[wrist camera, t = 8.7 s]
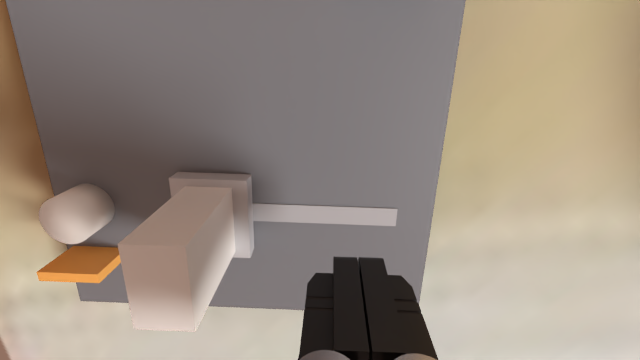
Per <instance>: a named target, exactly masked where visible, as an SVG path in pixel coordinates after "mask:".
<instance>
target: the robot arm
mask: <svg viewBox="0 0 640 360" xmlns="http://www.w3.org/2000/svg"><path fill="white" fill-rule="evenodd" d="M298 360H438V358H437V355H436V352H435V349H434V346H433V344H432V341H431V338H430V335H429V332H428V330H427V327H426V324H425V321H424V318H423V316H422V314H421V310H420V307H419V304H418V303H417V299H416V296H415V293H414V290H413V288H412V286H411V285H410V284H409V283H408V282H407V281H406V280H405V279H404V278H403V277H402V276H401V275H388V274H387V270H386V266H385V263H384V259H383V258H371V257H359V258H358V259H357V257H335V256H334V257H333V273H315V274H314V276H313V277H312V278H311V279H310V281H309V282H308V283H307V292H306V301H305V310H304V319H303V328H302V336H301V345H300V354H299V358H298Z"/></svg>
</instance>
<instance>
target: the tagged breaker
mask: <svg viewBox="0 0 640 360" xmlns="http://www.w3.org/2000/svg"><path fill="white" fill-rule="evenodd" d="M169 184H170V192H171V199H170V200H168V201H167V202H166V203H165V204H164V205H163V206H161V207H160V208H159V209H158V210H157V211H156V212H154V213H153V214H152V215H151V216H150V217H149V218H147V219H146V220H145V221H144V222H143V223H142V224H140V225H139V226H138V227H137V228H136V229H135V230H133V231H132V232H131V233H130V234H129V235H128V236H126V237H125V238H124V239H123V240H122V241H121V242H119V243H118V250H119V255H120V260H121V265H122V270H123V276H124V281H125V286H126V291H127V296H128V302H129V307H130V312H131V317H132V322H133V327H134V329H141V330H165V331H189V332H196V330H197V328H198V326H199V324H200V322H201V320H202V318H203V316H204V314H205V312H206V310H207V308H208V306H209V304H210V302H211V300H212V298H213V296H214V294H215V292H216V290H217V288H218V285H219V283H220V281H221V279H222V277H223V275H224V273H225V271H226V269H227V267H228V265H229V263H230V261H231V259H232V257H235V258H250V257H251V255H252V253H253V250H254V229H253V204H252V179H251V174H225V173H197V172H177V173H175V174H174V175H173V176H171V177H170V178H169Z"/></svg>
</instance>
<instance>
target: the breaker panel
mask: <svg viewBox="0 0 640 360" xmlns="http://www.w3.org/2000/svg"><path fill="white" fill-rule="evenodd" d="M465 1H466V0H6V4H7V8H8V12H9V16H10V20H11V24H12V28H13V32H14V36H15V40H16V44H17V48H18V52H19V56H20V60H21V64H22V68H23V72H24V76H25V80H26V84H27V88H28V92H29V96H30V100H31V104H32V108H33V112H34V116H35V120H36V124H37V128H38V132H39V136H40V140H41V144H42V148H43V152H44V156H45V160H46V164H47V168H48V172H49V176H50V180H51V184H52V188H53V192H54V197H52V198H50V199H48V200H46V201H45V202H44V203H43V204H42V205H41V207H40V210H39V220H40V223H41V225H42V227H43V229H44V230H45V231H46V233H47V234H48V235H50V236H51V237H52V238H54V239H55V240H57V241H59V242H62V243H65V244H67V248H68V250H67V251H65V252H64V253H63V254H61V255H60V256H58V257H57V258H56V259H54V260H53V261H51V262H50V263H49V264H47V265H46V266H45V267H43V268H42V269H40V270H39V271H38V272H37V275H38V278H39V281H58V282H76V284H77V288H78V292H79V296H80V300H81V301H96V302H120V303H129V302H128V296H127V291H126V286H125V281H124V276H123V270H122V265H121V260H120V255H119V250H118V243H119V242H121V241H122V240H123V239H124V238H125V237H126V236H128V235H129V234H130V233H131V232H132V231H133V230H135V229H136V228H137V227H138V226H139V225H140V224H142V223H143V222H144V221H145V220H146V219H147V218H149V217H150V216H151V215H152V214H153V213H154V212H156V211H157V210H158V209H159V208H160V207H161V206H163V205H164V204H165V203H166V202H167V201H168V200H170V199H171V192H170V184H169V178H170V177H171V176H173V175H174V174H175V173H177V172H197V173H225V174H251V179H252V204H253V229H254V250H253V253H252V255H251V257H250V258H235V257H232V259H231V261H230V263H229V265H228V267H227V269H226V271H225V273H224V275H223V277H222V279H221V281H220V283H219V285H218V288H217V290H216V292H215V294H214V296H213V298H212V300H211V302H210V304H209V306H218V307H242V308H266V309H291V310H305V301H306V292H307V283H308V282H309V281H310V279H311V278H312V277H313V276H314V274H315V273H333V257H334V256H335V257H357V259H358V258H359V257H371V258H383V259H384V263H385V266H386V270H387V274H388V275H401V276H402V277H403V278H404V279H405V280H406V281H407V282H408V283H409V284H410V285H411V286H412V288H413V290H414V293H415V296H416V299H417V303H418V304H419V300H420V294H421V287H422V281H423V274H424V268H425V261H426V255H427V248H428V242H429V235H430V229H431V222H432V216H433V209H434V202H435V196H436V189H437V183H438V176H439V170H440V163H441V157H442V150H443V144H444V137H445V131H446V124H447V118H448V111H449V105H450V98H451V92H452V85H453V79H454V72H455V66H456V59H457V53H458V46H459V40H460V33H461V27H462V20H463V14H464V7H465Z"/></svg>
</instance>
